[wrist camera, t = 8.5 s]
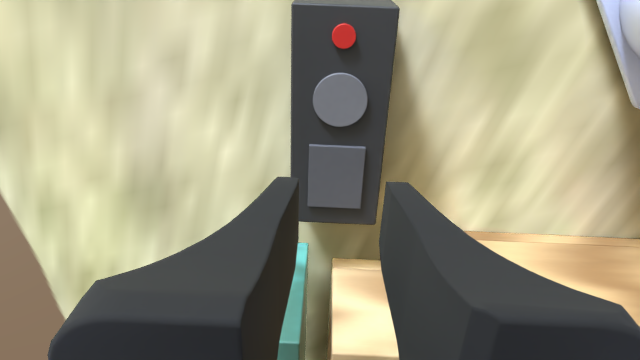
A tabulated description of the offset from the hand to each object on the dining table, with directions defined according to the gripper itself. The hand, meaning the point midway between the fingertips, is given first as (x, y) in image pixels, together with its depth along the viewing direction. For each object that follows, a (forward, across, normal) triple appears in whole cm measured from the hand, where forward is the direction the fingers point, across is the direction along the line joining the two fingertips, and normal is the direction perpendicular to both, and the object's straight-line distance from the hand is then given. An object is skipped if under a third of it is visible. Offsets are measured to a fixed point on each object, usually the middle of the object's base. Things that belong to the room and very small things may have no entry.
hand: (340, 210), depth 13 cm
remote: (+9, 0, 0) cm, 9 cm away
